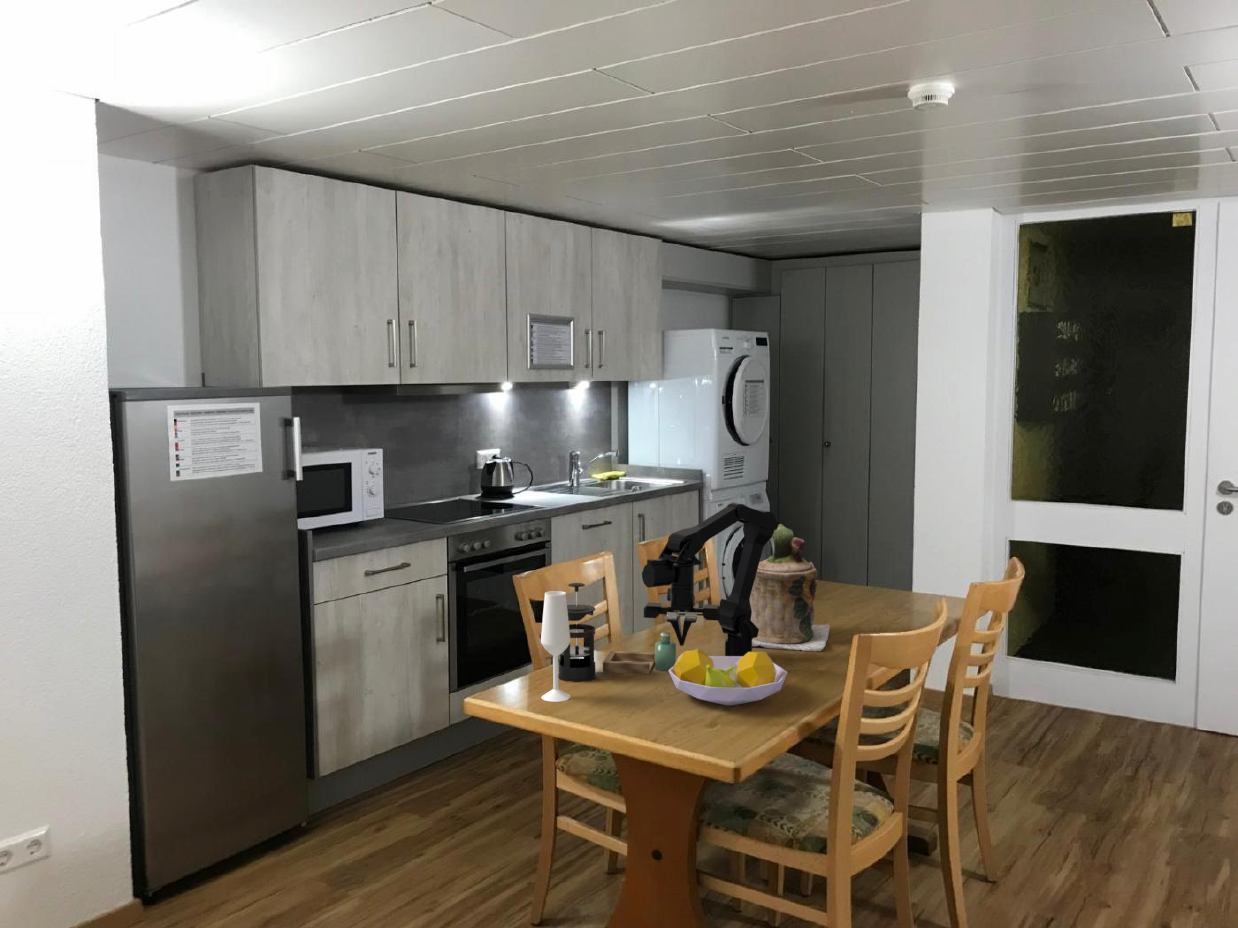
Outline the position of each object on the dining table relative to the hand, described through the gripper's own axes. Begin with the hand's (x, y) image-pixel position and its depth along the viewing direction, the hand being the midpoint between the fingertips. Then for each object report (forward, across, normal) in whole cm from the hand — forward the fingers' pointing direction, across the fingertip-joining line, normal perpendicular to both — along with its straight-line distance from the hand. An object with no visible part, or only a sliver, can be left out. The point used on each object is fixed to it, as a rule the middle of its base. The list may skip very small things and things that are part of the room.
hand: (681, 645), depth 251 cm
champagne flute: (+6, +26, +27) cm, 38 cm away
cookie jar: (+6, -25, -35) cm, 43 cm away
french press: (+6, +25, +10) cm, 28 cm away
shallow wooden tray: (+6, +13, 0) cm, 14 cm away
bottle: (+6, +4, 0) cm, 7 cm away
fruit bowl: (+6, -12, +21) cm, 25 cm away
